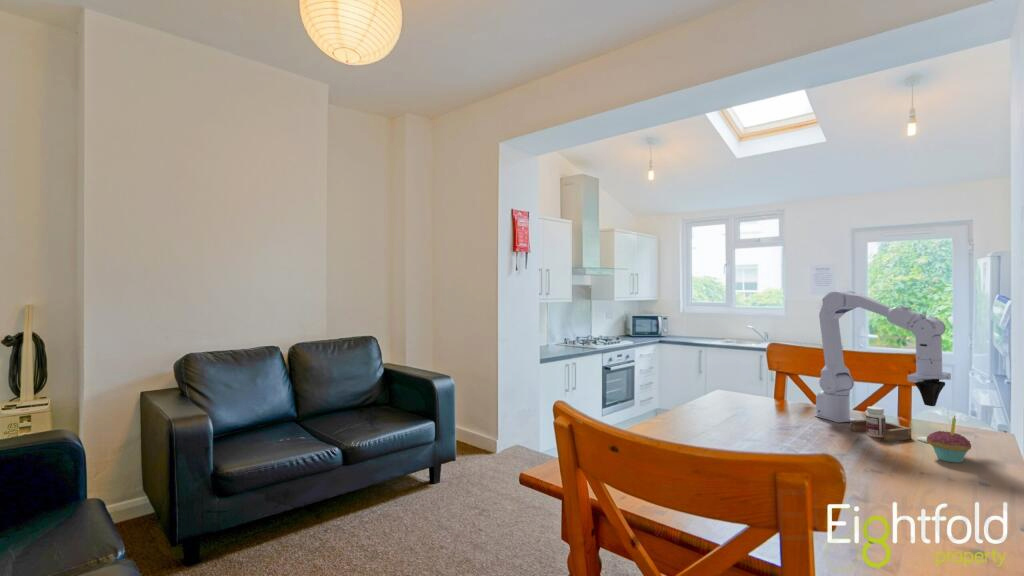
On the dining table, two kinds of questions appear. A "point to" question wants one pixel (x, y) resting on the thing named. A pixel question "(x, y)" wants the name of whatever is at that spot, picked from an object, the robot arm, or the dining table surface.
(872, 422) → the pill bottle
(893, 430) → the walnut corral
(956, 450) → the cupcake
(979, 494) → the dining table surface
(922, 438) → the disc
